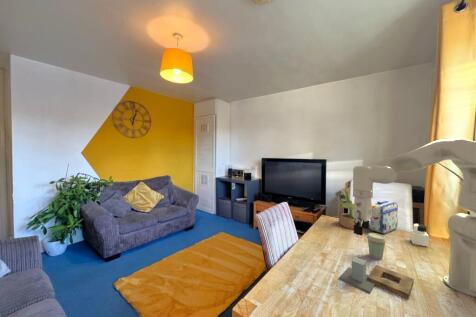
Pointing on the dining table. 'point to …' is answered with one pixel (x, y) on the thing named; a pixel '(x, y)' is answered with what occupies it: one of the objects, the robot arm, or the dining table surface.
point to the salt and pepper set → (419, 235)
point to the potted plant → (346, 218)
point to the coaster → (364, 286)
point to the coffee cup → (376, 245)
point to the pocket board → (400, 289)
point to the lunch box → (384, 217)
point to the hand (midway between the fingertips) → (361, 231)
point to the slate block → (358, 269)
